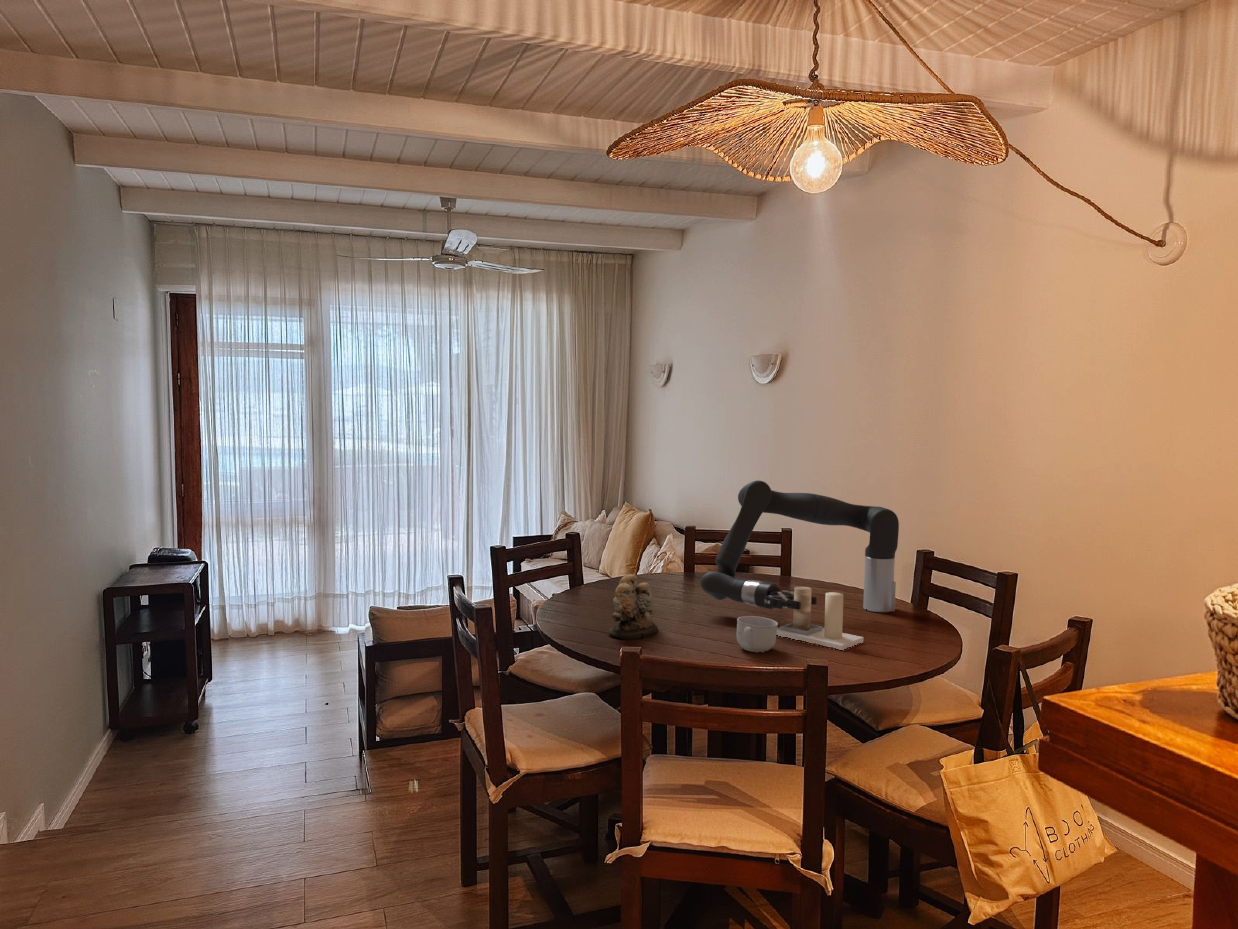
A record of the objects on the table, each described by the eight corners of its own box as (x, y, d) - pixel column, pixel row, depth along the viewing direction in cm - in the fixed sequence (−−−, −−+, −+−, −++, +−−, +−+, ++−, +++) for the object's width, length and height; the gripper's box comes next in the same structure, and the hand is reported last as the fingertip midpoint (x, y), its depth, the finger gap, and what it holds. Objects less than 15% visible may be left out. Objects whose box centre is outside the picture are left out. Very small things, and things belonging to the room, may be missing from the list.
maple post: (808, 628, 239) (810, 586, 238) (811, 632, 234) (812, 590, 233) (791, 627, 239) (793, 586, 238) (794, 631, 234) (795, 590, 233)
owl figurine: (632, 644, 226) (632, 582, 225) (597, 637, 232) (597, 577, 231) (666, 629, 240) (667, 571, 239) (633, 623, 247) (633, 567, 246)
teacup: (749, 641, 229) (750, 613, 229) (784, 649, 222) (785, 619, 222) (722, 652, 218) (722, 622, 218) (758, 660, 211) (759, 630, 211)
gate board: (771, 634, 236) (773, 588, 235) (794, 627, 245) (795, 582, 244) (841, 651, 221) (843, 601, 220) (863, 642, 230) (864, 594, 229)
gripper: (746, 585, 240) (795, 594, 229) (774, 578, 250) (821, 586, 239) (746, 610, 241) (794, 620, 230) (773, 602, 251) (821, 612, 240)
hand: (808, 603), depth 234 cm, fingers open, 8 cm apart
